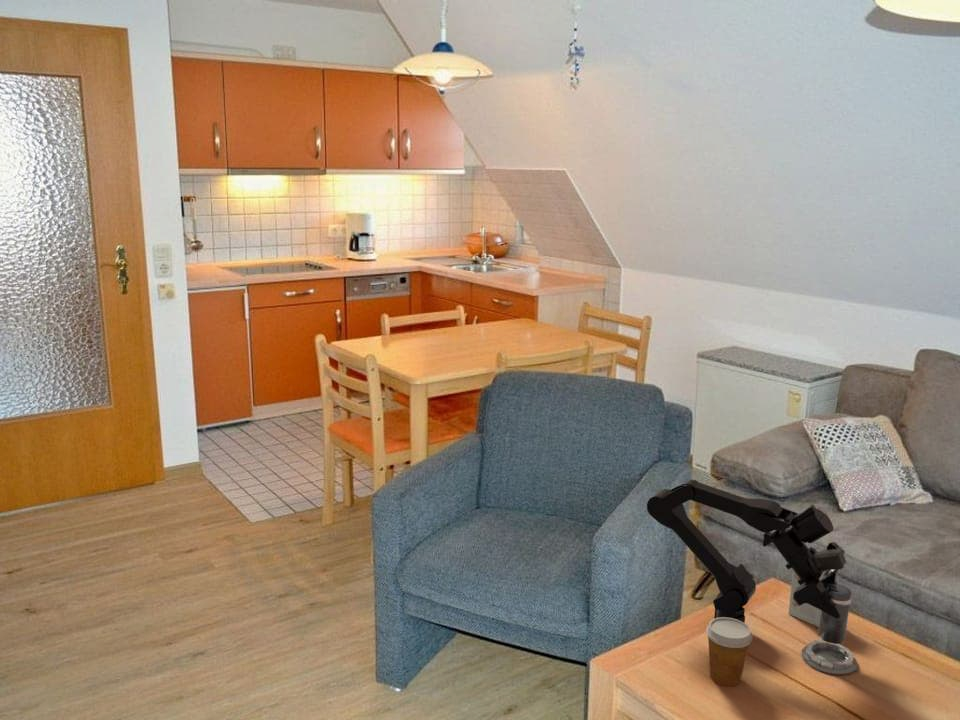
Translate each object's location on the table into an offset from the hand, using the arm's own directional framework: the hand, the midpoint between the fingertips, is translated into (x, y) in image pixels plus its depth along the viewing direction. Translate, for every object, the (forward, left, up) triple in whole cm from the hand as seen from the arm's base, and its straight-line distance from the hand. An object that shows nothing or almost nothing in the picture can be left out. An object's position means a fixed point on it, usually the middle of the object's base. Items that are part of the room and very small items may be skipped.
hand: (841, 612), depth 186 cm
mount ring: (-1, -1, -12) cm, 12 cm away
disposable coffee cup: (-8, -26, -13) cm, 30 cm away
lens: (-1, -1, -7) cm, 7 cm away
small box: (-16, +12, -13) cm, 23 cm away
